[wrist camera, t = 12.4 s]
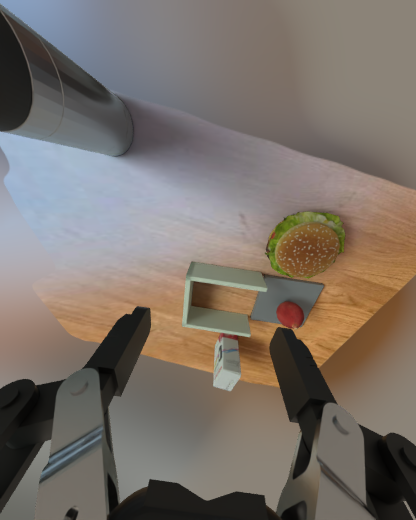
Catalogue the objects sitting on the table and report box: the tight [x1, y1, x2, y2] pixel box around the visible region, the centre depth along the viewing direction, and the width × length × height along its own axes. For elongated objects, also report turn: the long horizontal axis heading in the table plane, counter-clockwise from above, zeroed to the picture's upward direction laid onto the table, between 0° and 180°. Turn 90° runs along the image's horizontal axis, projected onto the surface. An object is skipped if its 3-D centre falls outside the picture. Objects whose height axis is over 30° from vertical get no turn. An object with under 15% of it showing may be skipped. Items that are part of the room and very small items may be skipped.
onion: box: [276, 301, 304, 330], centre depth 38 cm, size 6×6×8 cm
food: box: [265, 211, 345, 278], centre depth 32 cm, size 14×14×8 cm
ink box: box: [213, 333, 241, 391], centre depth 45 cm, size 9×5×12 cm, turn 164°
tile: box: [250, 275, 324, 327], centre depth 42 cm, size 14×14×1 cm
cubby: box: [182, 262, 267, 337], centre depth 40 cm, size 17×15×6 cm
